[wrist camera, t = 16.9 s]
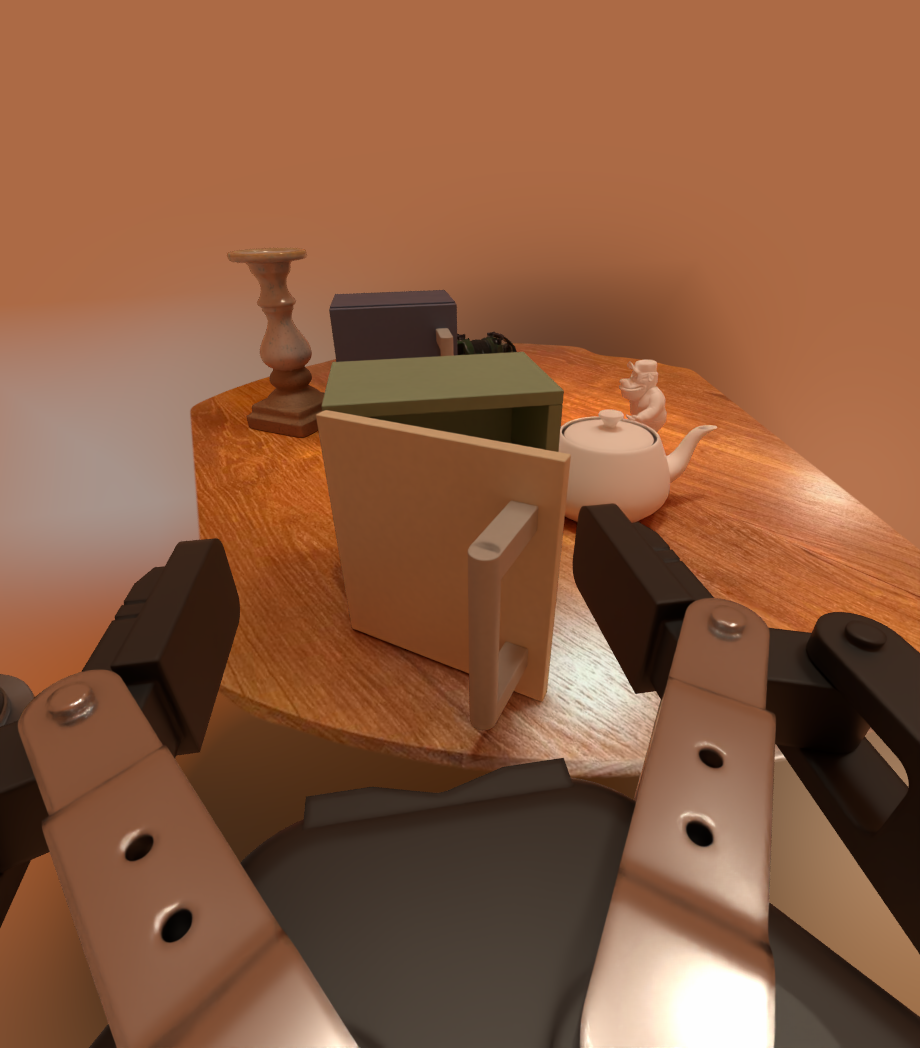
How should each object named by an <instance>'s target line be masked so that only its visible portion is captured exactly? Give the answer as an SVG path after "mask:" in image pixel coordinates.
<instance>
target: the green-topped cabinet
mask: <svg viewBox="0 0 920 1048" xmlns="http://www.w3.org/2000/svg"><path fill="white" fill-rule="evenodd" d="M563 393H564V391H563V389H562V388H561V387H559V386H558V385H557V384H556V383H555V382H554V381H553V380H552V379H551V378H550V377H549V376H548V375H547V374H546V373H545V372H544V371H543V370H542V369H541V368H540V367H539V366H538V365H536V364H535V363H534V362H533V361H532V360H531V359H530V358H529V357H528V356H527V355H526V354H525V353H524V352H512V353H493V354H475V355H456V356H438V357H419V358H401V359H382V360H364V361H345V362H332V366H331V370H330V374H329V378H328V382H327V386H326V390H325V394H324V398H323V403H322V412H323V411H325V410H329V411H334V412H340V413H345V414H351V415H356V416H362V417H368V418H373V419H379V420H384V421H390V422H395V423H401V424H406V425H412V426H417V427H423V428H428V429H434V430H439V431H445V432H450V433H456V434H461V435H467V436H472V437H478V438H483V439H489V440H494V441H500V442H505V443H511V444H516V445H522V446H527V447H533V448H538V449H544V450H549V451H555V452H558V451H559V440H560V429H561V417H562V406H563V405H562V403H563Z"/></svg>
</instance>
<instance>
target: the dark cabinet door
mask: <svg viewBox="0 0 920 1048" xmlns="http://www.w3.org/2000/svg"><path fill="white" fill-rule="evenodd" d="M329 311H330V318H331V325H332V333H333V340H334V347H335V354H336V362H345V361H364V360H382V359H401V358H419V357H438V356H456V355H457V306H456V303H446V304H423V305H399V306H376V307H352V308H330V310H329Z"/></svg>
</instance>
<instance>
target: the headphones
mask: <svg viewBox="0 0 920 1048" xmlns="http://www.w3.org/2000/svg"><path fill="white" fill-rule="evenodd" d="M494 337H496V338H494ZM497 338H498V339H497ZM501 340H504V341H505V342H507V343H501ZM512 352H517V351H516V349H515V346H514V345H513V344H512V343H511V342H510V341H509V340H508V339H507V338H505V337H504V336H503V335H502V334H498V333H495V332H492V333H487V337H486V338H483V339H481V340H472V341H470V340H469V338H468V339H465V334H463V335H459V334H457V355H475V354H493V353H512Z"/></svg>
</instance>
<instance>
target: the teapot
mask: <svg viewBox="0 0 920 1048" xmlns="http://www.w3.org/2000/svg"><path fill="white" fill-rule="evenodd" d="M598 415H599V417H585V418H579V419H575V420H572V421H569V422H567V423H565V424H564V425H563V426H561V429H560V440H559V451H558V452H560V453H566V454H570V455H571V459H570V469H569V479H568V489H567V499H566V508H565V516H566V517H567V518H569V519H571V520H574V521H576V522H578V515H579V511H580V509H581V507H582V506H589V505H600V504H611V503H614V504H616V505H617V506H618V507H619V508H620V509H621V510H622V512H623V513H624V514H625V515H626V516H627V518H628V519H629V520H630V521H631V522H632V523H634V522H637V521H639V520H641V519H643V518H645V517H647V516H649V515H651V514H653V513H654V512H655V511H657V510H658V509H659V508H660V507H661V506H662V505H663V504H664V502H665V501H666V499H667V497H668V494H669V489H670V483H671V482H673V481H674V480H675V479H677V478H678V477H680V476H681V474H682V473H683V472H684V471H685V469H686V467H687V465H688V463H689V461H690V459H691V456H692V454H693V452H694V450H695V448H696V445H697V444H698V442H699V441H700V440H701V439H702V437H703V436H705V435H706V434H708V433H709V432H711V431H713V430H714V429H716V428H717V426H713V425H706V426H699V427H696V428H694V429H693V430H691V431H690V432H689V433H688V434H687V435H686V436H685V437H684V439H683V440H682V441H681V443H680V444H679V446H678V447H677V448H676V449H675V450H674V451H673V452H672V453H671V454H669V455H668V456H666V454H665V451H664V448H663V445H662V442H661V439H660V436H659V435H658V433H657V432H656V431H655V430H653V429H652V428H650V427H649V426H647V425H644V424H642V423H639V422H636V421H633V420H629V419H623V417H624V415H623V413H622V412H620V411H617V410H602V411H600V412H599V414H598Z"/></svg>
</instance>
